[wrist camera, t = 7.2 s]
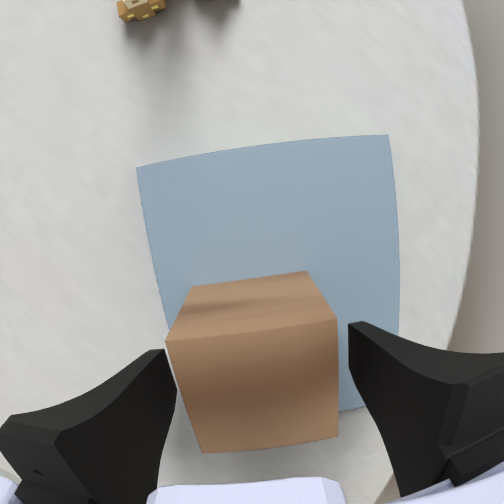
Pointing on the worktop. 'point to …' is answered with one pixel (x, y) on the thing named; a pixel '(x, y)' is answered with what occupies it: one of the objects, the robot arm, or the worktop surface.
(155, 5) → the cream long lumpy piece
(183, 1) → the worktop surface
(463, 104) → the worktop surface
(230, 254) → the slate board
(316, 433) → the walnut cube
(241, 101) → the worktop surface
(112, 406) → the robot arm
